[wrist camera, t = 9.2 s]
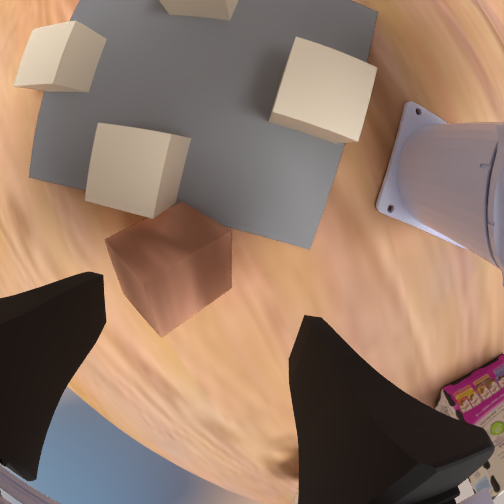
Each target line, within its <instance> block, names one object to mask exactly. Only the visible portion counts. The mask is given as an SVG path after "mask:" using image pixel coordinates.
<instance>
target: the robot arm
mask: <svg viewBox="0 0 504 504" xmlns="http://www.w3.org/2000/svg"><path fill="white" fill-rule="evenodd" d="M416 109H417V110H418V111H419V114H418V115H417V114H416ZM389 205H391V206H392V208H391V210H390V211H388V210H387V208H388V206H389ZM376 209H377V210H378V211H379V212H380V213H382V214H385V215H387V216H390V217H392V218H395V219H397V220H400V221H402V222H405V223H407V224H410V225H412V226H414V227H417V228H419V229H421V230H424V231H426V232H428V233H431V234H433V235H435V236H437V237H440V238H442V239H444V240H446V241H448V242H450V243H453V244H455V245H457V246H459V247H461V248H463V249H465V248H467V249H468V250H470V251H472V252H473V253H475V254H477V255H478V256H480V257H482V258H483V259H485V260H486V261H488V262H490V263H491V264H493V265H494V266H496V267H497V268H499V269H500V270H501V271H502V274H503V287H504V123H497V122H479V123H449V124H448V123H447V122H445V121H444V120H442V119H441V118H439V117H438V116H436V115H435V114H433V113H432V112H430V111H428V110H427V109H425V108H423V107H422V106H420V105H418V104H417V103H415V102H413V101H409V102H406V103H405V105H404V109H403V113H402V117H401V121H400V125H399V129H398V133H397V137H396V140H395V144H394V147H393V151H392V155H391V158H390V161H389V165H388V168H387V171H386V174H385V178H384V181H383V184H382V187H381V190H380V193H379V196H378V199H377V202H376ZM105 323H106V312H105V298H104V280H103V275H101V274H97V273H94V272H85V273H81V274H77V275H74V276H71V277H68V278H65V279H62V280H59V281H56V282H53V283H51V284H48V285H45V286H42V287H39V288H36V289H32V290H29V291H26V292H23V293H20V294H16V295H13V296H9V297H5V298H0V463H1V464H2V465H3V466H6V467H8V468H9V469H11V470H12V471H13V472H15V473H16V474H18V475H19V476H21V477H22V478H24V479H25V480H27V481H33V480H36V477H37V471H38V465H39V460H40V455H41V451H42V447H43V444H44V440H45V437H46V434H47V430H48V428H49V425H50V422H51V420H52V417H53V414H54V411H55V409H56V407H57V405H58V403H59V400H60V398H61V396H62V394H63V392H64V390H65V388H66V387H67V385H68V383H69V382H70V380H71V379H72V377H73V376H74V374H75V373H76V371H77V370H78V368H79V367H80V365H81V364H82V362H83V361H84V359H85V358H86V356H87V355H88V353H89V352H90V350H91V349H92V348H93V346H94V345H95V343H96V341H97V339H98V338H99V336H100V334H101V332H102V330H103V328H104V325H105ZM289 385H290V392H291V398H292V404H293V410H294V417H295V423H296V429H297V436H298V446H299V494H298V504H456V501H455V499H454V498H456V497H457V496H459V495H460V491H459V488H458V485H459V484H461V483H462V482H463V481H465V480H466V479H467V478H468V477H470V476H471V475H472V474H473V473H474V472H476V471H477V470H478V469H479V468H480V467H481V466H482V465H484V464H485V463H486V462H487V461H488V459H489V458H490V457H491V456H492V454H493V453H494V450H495V446H494V444H493V442H492V441H491V439H490V437H489V435H488V434H487V432H486V430H485V429H484V428H482V427H479V426H476V425H473V424H470V423H467V422H464V421H461V420H458V419H455V418H452V417H450V416H448V415H446V414H443V413H441V412H439V411H437V410H435V409H433V408H431V407H429V406H427V405H425V404H423V403H422V402H420V401H418V400H417V399H415V398H413V397H412V396H410V395H408V394H407V393H405V392H404V391H402V390H401V389H399V388H398V387H397V386H395V385H394V384H393V383H391V382H390V381H388V380H387V379H386V378H384V377H383V376H382V375H381V374H379V373H378V372H377V371H376V370H375V369H374V368H373V367H371V366H370V365H369V364H368V363H367V362H366V361H365V360H364V359H363V358H361V357H360V356H359V355H358V354H357V353H356V352H355V351H354V350H353V349H352V348H351V347H350V346H349V345H348V344H347V343H346V342H345V341H344V340H343V339H342V338H341V337H340V336H339V335H338V334H337V333H336V331H335V330H334V329H333V328H332V327H331V326H330V325H329V324H328V323H327V322H326V321H324V320H323V319H322V318H321V317H314V316H307V315H304V318H303V321H302V324H301V327H300V329H299V332H298V335H297V338H296V341H295V344H294V346H293V349H292V352H291V355H290V357H289ZM0 488H2V489H3V490H4V491H6V492H7V493H8V494H10V495H11V496H12V497H14V498H15V499H17V500H18V501H19V502H21V503H23V504H60V503H58V502H56V501H54V500H53V499H51V498H49V497H47V496H46V495H44V494H42V493H40V492H38V491H37V490H35V489H34V488H32V487H31V486H29V485H27V484H26V483H24V482H23V481H21V480H20V479H18V478H17V477H15V476H14V475H13V474H11V473H10V472H9V471H7V470H6V469H4V468H3V467H2V466H0ZM0 504H11V503H10V502H8V501H7V500H5V499H4V498H3V497H2V495H1V491H0ZM458 504H494V503H493V500H492V498H491V495H490V493H489V490H488V488H484V489H483V490H481V491H479V492H478V493H476V494H474V495H472V496H471V497H469V498H467V499H465V500H464V501H462V502H460V503H458Z"/></svg>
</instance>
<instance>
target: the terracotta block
mask: <svg viewBox="0 0 504 504" xmlns="http://www.w3.org/2000/svg"><path fill="white" fill-rule="evenodd" d="M105 242H106V245H107V249H108V252H109V255H110V258H111V261H112V263H113V266H114V269H115V272H116V275H117V277H118V280H119V283H120V285H121V288H122V291H123V293H124V295H125V296H126V297H127V299H128V300H129V301H130V302H131V304H132V305H133V306H134V307H135V308H136V309H137V311H138V312H139V313H140V314H141V315H142V316H143V318H144V319H145V320H146V321H147V322H148V323H149V324H150V326H151V327H152V328H153V329H154V330H155V331H156V332H157V333H158V335H159V336H160V337H161V338H162V337H163V336H165V335H166V334H168V333H169V332H170V331H172V330H173V329H175V328H176V327H177V326H179V325H180V324H182V323H183V322H185V321H186V320H187V319H189V318H190V317H192V316H193V315H194V314H196V313H197V312H199V311H200V310H201V309H203V308H204V307H206V306H207V305H208V304H210V303H211V302H213V301H214V300H215V299H217V298H218V297H220V296H221V295H222V294H224V293H225V292H227V291H228V290H229V289H231V288H232V231H231V230H230V229H228V228H226V227H225V226H223V225H221V224H220V223H218V222H216V221H215V220H213V219H211V218H210V217H208V216H206V215H204V214H203V213H201V212H199V211H198V210H196V209H194V208H193V207H191V206H189V205H187V204H186V203H184V202H181V203H178V204H176V205H174V206H172V207H170V208H168V209H167V210H165V211H164V212H162V213H161V214H159V215H158V216H156V217H155V218H154V219H152V218H146V219H144V220H142V221H140V222H138V223H136V224H134V225H132V226H130V227H128V228H126V229H124V230H122V231H120V232H118V233H116V234H114V235H113V236H111V237H109V238H107V239H105Z"/></svg>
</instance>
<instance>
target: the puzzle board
mask: <svg viewBox="0 0 504 504" xmlns="http://www.w3.org/2000/svg"><path fill="white" fill-rule="evenodd" d="M377 13H378V12H376V11H374V10H372V9H370V8H368V7H365V6H363V5H361V4H358V3H356V2H354V1H351V0H80V1H79V3H78V5H77V7H76V9H75V11H74V13H73V15H72V17H71V19H70V21H69V22H64V23H59V24H54V25H49V26H45V27H41V28H37V29H33V31H32V33H31V36H30V38H29V41H28V43H27V46H26V49H25V51H24V54H23V57H22V60H21V63H20V66H19V69H18V72H17V75H16V79H15V82H14V86H13V87H21V88H28V89H35V90H41V91H44V95H43V99H42V103H41V107H40V111H39V116H38V120H37V125H36V130H35V136H34V142H33V149H32V156H31V164H30V173H29V178H33V179H38V180H42V181H46V182H51V183H55V184H59V185H64V186H68V187H72V188H76V189H80V190H85V191H86V194H85V201H87V202H91V203H95V204H98V205H102V206H106V207H110V208H114V209H118V210H121V211H125V212H129V213H133V214H137V215H141V216H144V217H148V218H152V219H154V218H155V217H156V216H158V215H159V214H161V213H162V212H164V211H165V210H167V209H168V208H170V207H172V206H174V205H176V204H178V203H181V202H184V203H186V204H187V205H189V206H191V207H193V208H194V209H196V210H198V211H199V212H201V213H203V214H204V215H206V216H208V217H210V218H211V219H213V220H215V221H216V222H218V223H220V224H221V225H223V226H226V227H230V228H233V229H237V230H241V231H244V232H248V233H252V234H255V235H259V236H263V237H266V238H270V239H274V240H277V241H281V242H284V243H288V244H292V245H295V246H299V247H302V248H306V249H309V250H310V248H311V245H312V242H313V239H314V237H315V234H316V231H317V228H318V225H319V222H320V219H321V216H322V214H323V211H324V208H325V205H326V202H327V199H328V196H329V193H330V190H331V186H332V183H333V180H334V177H335V174H336V171H337V168H338V164H339V161H340V158H341V155H342V151H343V148H344V145H345V143H348V142H358V141H359V137H360V134H361V130H362V127H363V123H364V119H365V116H366V112H367V108H368V104H369V101H370V97H371V93H372V89H373V85H374V81H375V76H376V72H377V67H375V66H372V65H370V64H368V63H367V59H368V55H369V50H370V46H371V41H372V37H373V32H374V28H375V23H376V18H377Z"/></svg>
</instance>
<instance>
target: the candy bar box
mask: <svg viewBox="0 0 504 504" xmlns="http://www.w3.org/2000/svg"><path fill="white" fill-rule="evenodd" d="M435 410H437V411H439V412H441V413H443V414H446V415H448V416H450V417H452V418H455V419H458V420H461V421H464V422H467V423H470V424H473V425H476V426H479V427H482V428H484V429H485V430H486V432H487V434H488V435H489V437H490V439H491V441H492V442H493V444H494V446H495V450H494V453H493V454H492V456H491V457H490V458H489V459H488V461H487V462H486V463H485V464H484V465H482V466H481V467H480V468H479V469H478V470H477V471H476V472H474V473H473V474H472V475H471V476H470V477H468V479H469V481H470V483H471V486H472V488H473V491H474V493H475V494H476V493H478V492H479V491H481V490H483V489H484V488H488V490H489V493H490V495H491V498H492V500H493V499H495V498H496V497H497V496H499V495H500V494H502V493H503V492H504V354H502V355H500V356H499V357H497V358H496V359H494V360H492V361H491V362H489V363H487V364H486V365H484V366H482V367H481V368H479V369H477V370H476V371H474V372H472V373H470V374H469V375H467V376H465V377H463V378H461V379H459V380H457V381H456V382H454V383H452V384H450V385H448V386H446V387H444V388H442V390H441V392H440V395H439V398H438V401H437V403H436V406H435Z"/></svg>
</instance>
